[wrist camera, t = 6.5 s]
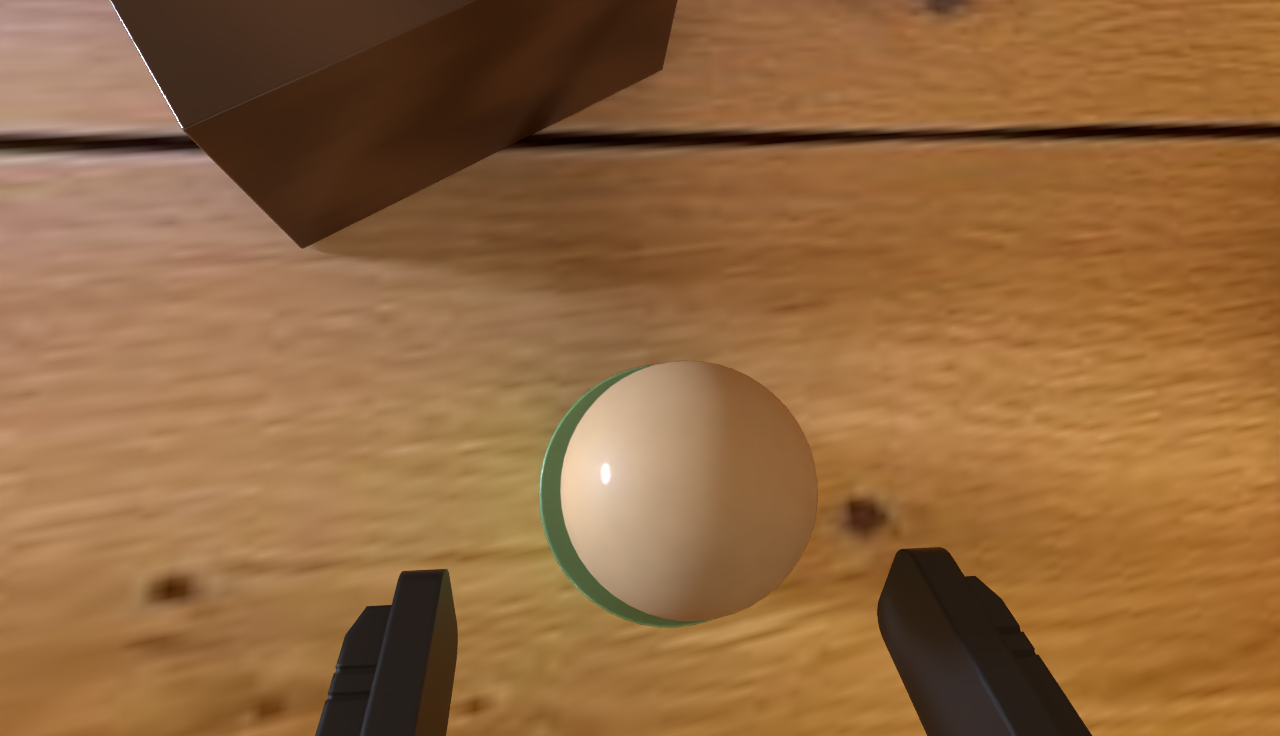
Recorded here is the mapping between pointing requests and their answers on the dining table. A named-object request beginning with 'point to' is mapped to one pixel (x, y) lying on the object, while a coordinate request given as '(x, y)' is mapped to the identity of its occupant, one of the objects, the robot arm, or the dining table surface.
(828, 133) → the dining table surface
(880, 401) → the dining table surface
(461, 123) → the walnut block
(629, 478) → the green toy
